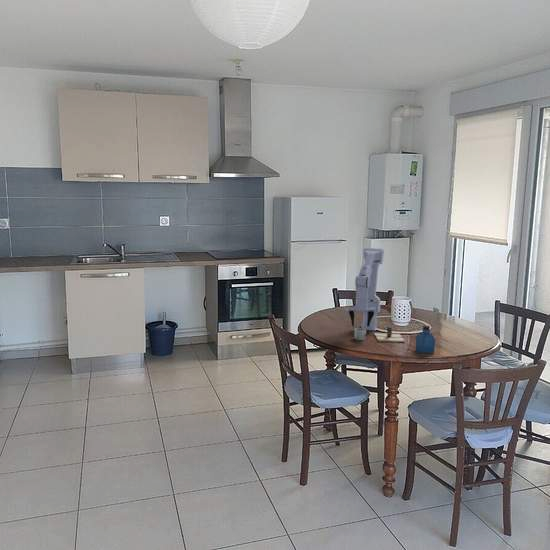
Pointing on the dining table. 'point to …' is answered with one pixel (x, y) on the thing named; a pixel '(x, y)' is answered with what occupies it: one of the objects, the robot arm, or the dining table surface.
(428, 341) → the perfume bottle
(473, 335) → the dining table surface
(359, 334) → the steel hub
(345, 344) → the dining table surface
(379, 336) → the post stand
